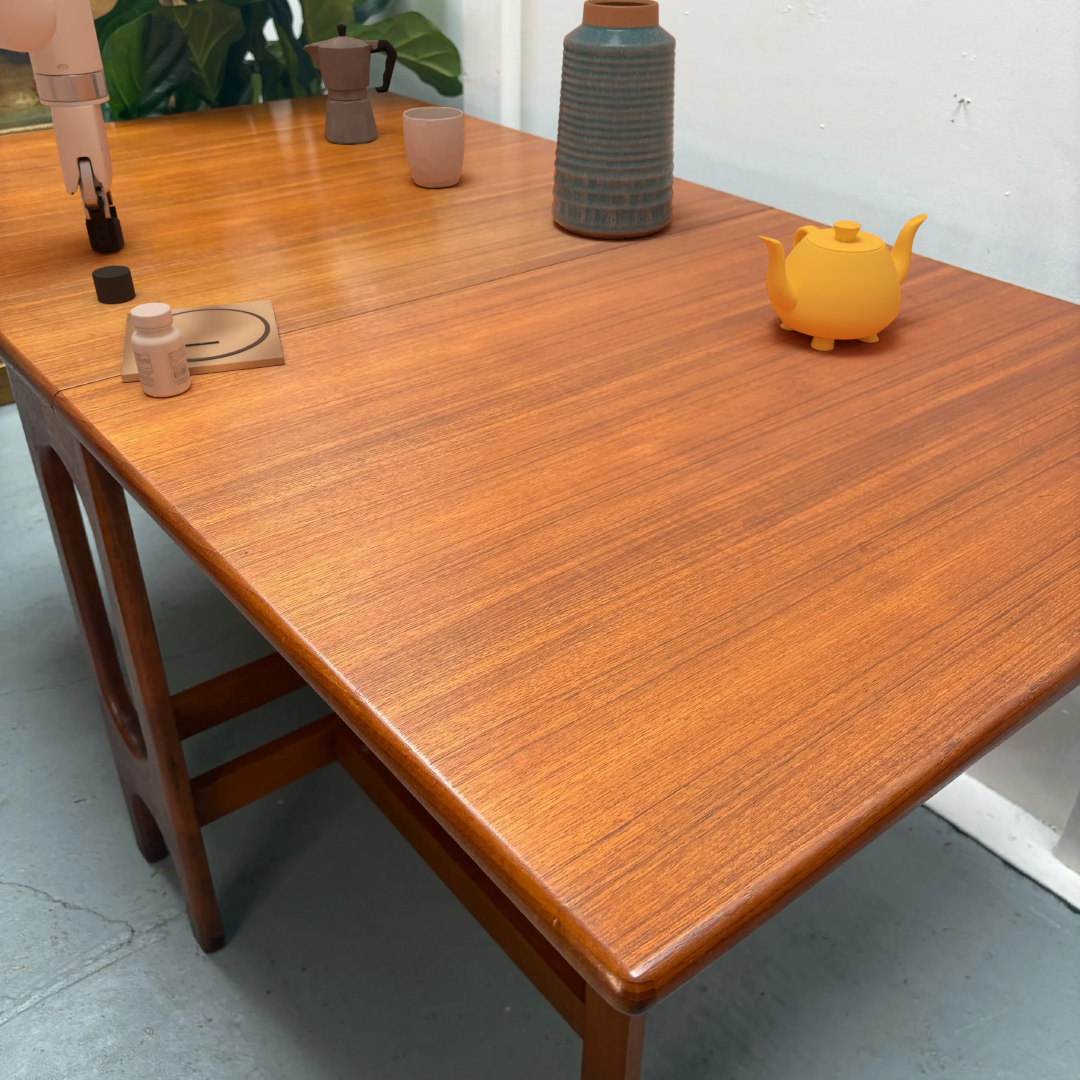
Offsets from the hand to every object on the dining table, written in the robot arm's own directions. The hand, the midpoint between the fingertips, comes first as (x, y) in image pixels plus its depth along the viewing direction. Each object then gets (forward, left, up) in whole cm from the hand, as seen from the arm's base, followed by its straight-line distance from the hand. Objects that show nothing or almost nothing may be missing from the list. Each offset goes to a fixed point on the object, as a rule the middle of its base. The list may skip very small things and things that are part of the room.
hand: (107, 243), depth 128 cm
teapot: (+74, -48, -1) cm, 88 cm away
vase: (+65, -7, -1) cm, 65 cm away
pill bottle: (+7, -44, -1) cm, 45 cm away
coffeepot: (+39, +51, -1) cm, 64 cm away
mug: (+46, +21, -1) cm, 50 cm away
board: (+11, -34, -1) cm, 35 cm away
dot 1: (0, 0, 0) cm, 0 cm away
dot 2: (+2, -18, -1) cm, 18 cm away
